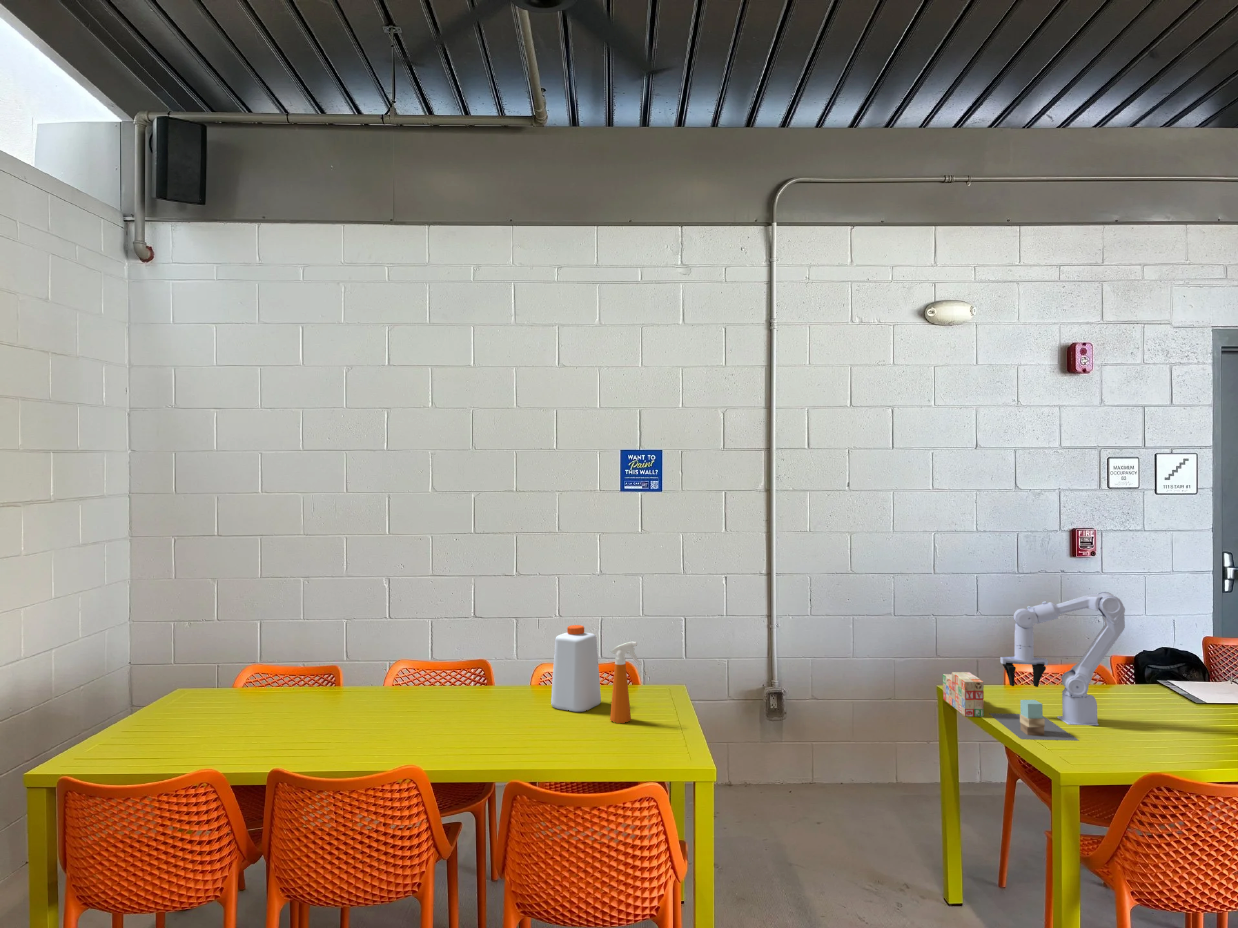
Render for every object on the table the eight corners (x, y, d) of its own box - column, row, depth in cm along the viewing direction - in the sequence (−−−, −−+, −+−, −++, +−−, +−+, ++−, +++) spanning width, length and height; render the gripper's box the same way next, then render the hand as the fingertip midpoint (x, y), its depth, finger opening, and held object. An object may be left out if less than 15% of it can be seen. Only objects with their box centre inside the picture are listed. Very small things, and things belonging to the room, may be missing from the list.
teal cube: (1035, 713, 248) (1034, 699, 248) (1042, 718, 243) (1042, 703, 243) (1020, 713, 248) (1020, 699, 248) (1028, 718, 243) (1027, 703, 243)
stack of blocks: (942, 699, 283) (942, 665, 283) (960, 699, 282) (960, 665, 283) (965, 717, 262) (964, 680, 262) (984, 718, 261) (983, 681, 261)
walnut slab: (1037, 730, 247) (1036, 722, 247) (1044, 735, 242) (1044, 727, 242) (1020, 729, 248) (1020, 721, 248) (1027, 734, 243) (1027, 726, 243)
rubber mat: (1040, 715, 263) (1040, 714, 263) (1079, 741, 237) (1079, 740, 237) (988, 714, 265) (988, 713, 265) (1021, 739, 239) (1021, 738, 239)
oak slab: (1035, 721, 248) (1035, 713, 248) (1044, 726, 243) (1044, 718, 243) (1019, 722, 247) (1019, 714, 247) (1029, 727, 242) (1028, 719, 242)
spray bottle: (640, 724, 255) (639, 644, 256) (607, 722, 258) (607, 642, 258) (643, 718, 262) (643, 639, 263) (612, 716, 265) (612, 638, 265)
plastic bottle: (582, 714, 267) (582, 632, 268) (546, 707, 275) (546, 628, 275) (605, 702, 280) (605, 624, 281) (570, 697, 288) (569, 621, 288)
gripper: (1041, 643, 265) (1041, 683, 265) (996, 641, 266) (996, 681, 266) (1050, 647, 258) (1050, 688, 258) (1005, 646, 259) (1005, 687, 259)
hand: (1023, 685), depth 262 cm, fingers open, 7 cm apart
